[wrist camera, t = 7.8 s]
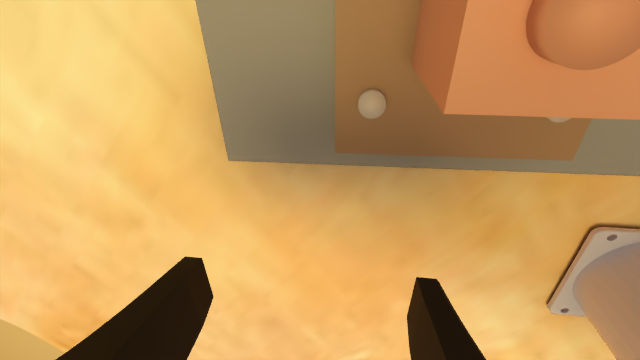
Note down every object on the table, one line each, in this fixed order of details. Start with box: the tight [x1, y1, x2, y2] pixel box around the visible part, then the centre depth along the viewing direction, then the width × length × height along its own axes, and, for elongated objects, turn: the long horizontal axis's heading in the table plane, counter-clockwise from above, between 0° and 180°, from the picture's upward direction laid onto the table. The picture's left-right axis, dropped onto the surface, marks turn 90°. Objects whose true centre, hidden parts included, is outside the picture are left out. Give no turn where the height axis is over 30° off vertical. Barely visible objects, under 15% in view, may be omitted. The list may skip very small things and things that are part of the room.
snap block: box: [412, 0, 640, 120], centre depth 8 cm, size 4×4×7 cm
